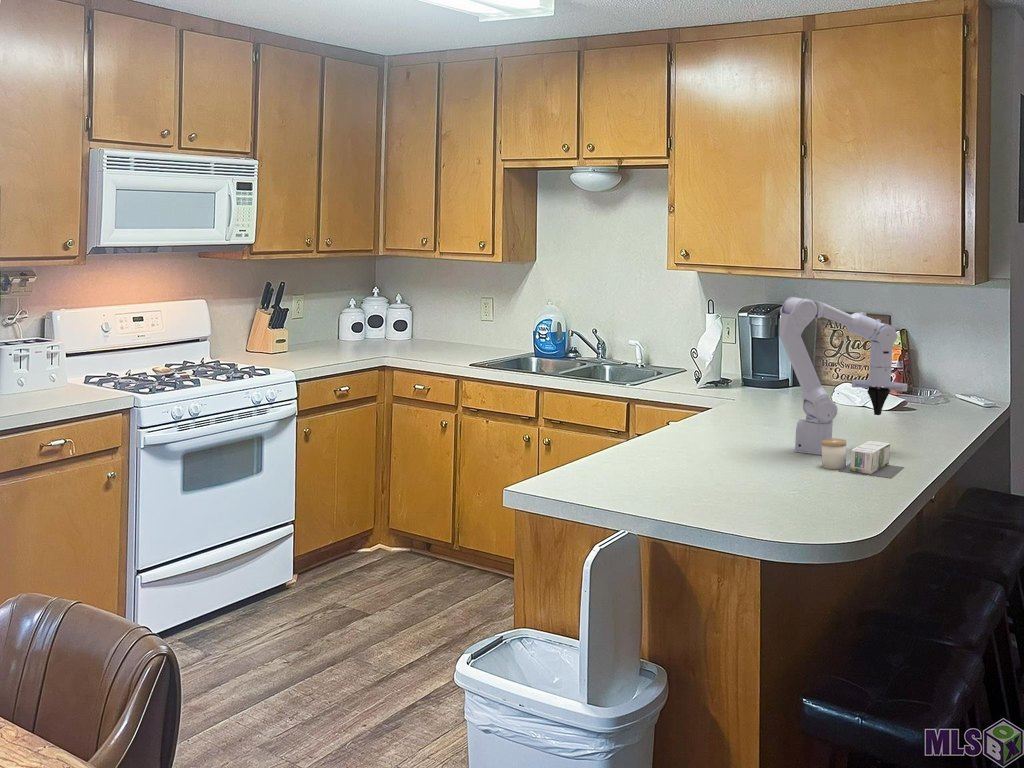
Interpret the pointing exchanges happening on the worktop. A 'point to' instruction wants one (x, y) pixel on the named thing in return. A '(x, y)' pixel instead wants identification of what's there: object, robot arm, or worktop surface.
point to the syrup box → (870, 457)
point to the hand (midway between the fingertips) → (877, 414)
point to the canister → (833, 453)
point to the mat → (883, 472)
